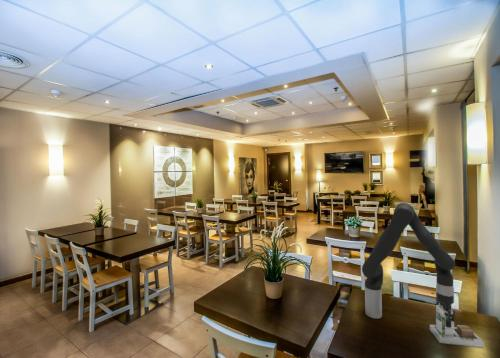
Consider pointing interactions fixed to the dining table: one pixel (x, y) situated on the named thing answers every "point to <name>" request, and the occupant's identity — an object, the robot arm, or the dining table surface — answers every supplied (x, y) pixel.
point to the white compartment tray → (457, 338)
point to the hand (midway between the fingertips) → (445, 323)
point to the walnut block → (465, 331)
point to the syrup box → (443, 322)
